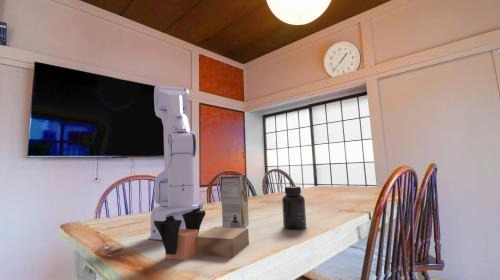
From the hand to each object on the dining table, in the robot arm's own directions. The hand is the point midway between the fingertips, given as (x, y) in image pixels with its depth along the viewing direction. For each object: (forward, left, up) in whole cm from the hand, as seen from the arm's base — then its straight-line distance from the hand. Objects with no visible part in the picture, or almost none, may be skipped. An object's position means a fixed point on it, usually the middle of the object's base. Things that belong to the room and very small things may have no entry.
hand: (182, 248), depth 55 cm
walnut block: (+7, +6, -2) cm, 9 cm away
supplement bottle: (+19, +29, -2) cm, 35 cm away
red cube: (0, 0, -2) cm, 2 cm away
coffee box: (+1, +26, -2) cm, 26 cm away
